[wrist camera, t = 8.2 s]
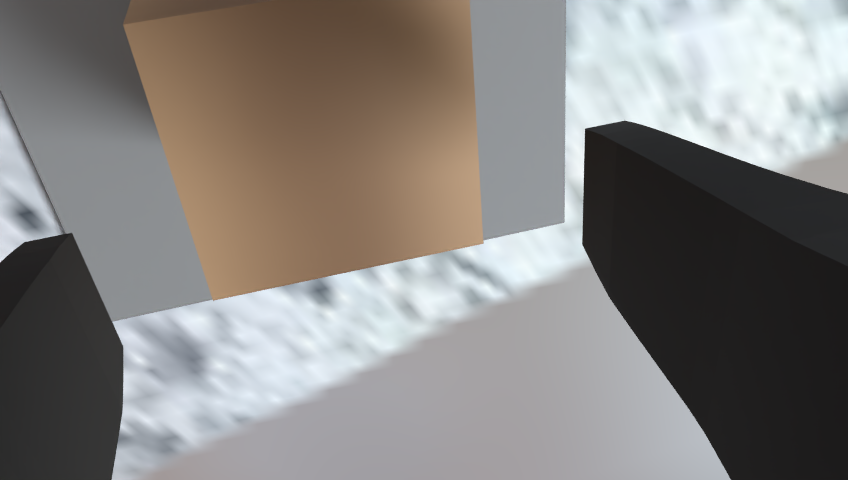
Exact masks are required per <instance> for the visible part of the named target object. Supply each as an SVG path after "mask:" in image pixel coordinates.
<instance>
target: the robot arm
mask: <svg viewBox="0 0 848 480" xmlns="http://www.w3.org/2000/svg"><path fill="white" fill-rule="evenodd" d="M582 244H583V247H584V249H585V251H586V253H587V255H588V257H589V259H590V261H591V263H592V265H593V267H594V269H595V271H596V273H597V275H598V277H599V279H600V281H601V282H602V284H603V286H604V288H605V290H606V292H607V294H608V296H609V297H610V299H611V300H612V302H613V303H614V305H615V306H616V307H617V309H618V311H619V312H620V313H621V315H622V316H623V318H624V319H625V320H626V322H627V323H628V325H629V326H630V327H631V329H632V330H633V332H634V333H635V334H636V336H637V337H638V339H639V340H640V342H641V343H642V344H643V346H644V347H645V348H646V350H647V351H648V353H649V354H650V355H651V357H652V358H653V360H654V361H655V362H656V364H657V365H658V367H659V368H660V369H661V371H662V372H663V373H664V375H665V376H666V378H667V379H668V380H669V382H670V383H671V385H672V386H673V387H674V389H675V390H676V391H677V393H678V394H679V396H680V397H681V398H682V400H683V401H684V403H685V404H686V405H687V407H688V408H689V410H690V411H691V413H692V414H693V416H694V417H695V419H696V421H697V422H698V424H699V425H700V427H701V428H702V429H703V431H704V433H705V434H706V436H707V438H708V440H709V441H710V443H711V445H712V447H713V448H714V450H715V452H716V454H717V456H718V457H719V459H720V461H721V463H722V464H723V466H724V468H725V470H726V471H727V473H728V475H729V477H730V479H731V480H848V194H846V193H842V192H839V191H835V190H831V189H828V188H825V187H821V186H818V185H815V184H812V183H808V182H805V181H802V180H799V179H795V178H792V177H789V176H785V175H782V174H779V173H776V172H773V171H770V170H768V169H765V168H762V167H759V166H756V165H753V164H750V163H747V162H744V161H741V160H739V159H736V158H733V157H730V156H728V155H725V154H722V153H719V152H717V151H714V150H711V149H709V148H706V147H703V146H700V145H698V144H695V143H692V142H690V141H687V140H684V139H681V138H679V137H676V136H673V135H670V134H668V133H665V132H662V131H659V130H656V129H653V128H650V127H647V126H644V125H640V124H637V123H632V122H628V121H621V122H616V123H611V124H606V125H601V126H597V127H592V128H587V129H585V158H584V199H583V240H582ZM122 408H123V345H122V343H121V341H120V339H119V336H118V334H117V332H116V330H115V327H114V325H113V323H112V321H111V318H110V316H109V314H108V312H107V310H106V307H105V305H104V303H103V301H102V298H101V296H100V294H99V292H98V290H97V287H96V285H95V283H94V281H93V278H92V276H91V274H90V272H89V269H88V267H87V265H86V263H85V261H84V258H83V256H82V254H81V252H80V249H79V247H78V245H77V243H76V241H75V238H74V236H73V234H72V233H68V234H63V235H58V236H53V237H48V238H43V239H38V240H33V241H29V242H24V243H23V244H22V245H20V246H19V247H18V248H16V249H15V250H14V251H13V252H12V253H10V254H9V255H8V256H7V257H6V258H5V259H4V260H3V261H1V262H0V480H111V479H112V473H113V467H114V461H115V455H116V449H117V442H118V436H119V430H120V423H121V417H122Z"/></svg>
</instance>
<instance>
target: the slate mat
mask: <svg viewBox="0 0 848 480" xmlns="http://www.w3.org/2000/svg"><path fill="white" fill-rule="evenodd" d="M130 1H131V0H0V91H1V93H2V95H3V97H4V99H5V102H6V104H7V106H8V108H9V110H10V113H11V115H12V117H13V119H14V121H15V123H16V126H17V128H18V130H19V132H20V134H21V137H22V139H23V141H24V143H25V145H26V148H27V150H28V152H29V154H30V156H31V159H32V161H33V163H34V165H35V167H36V170H37V172H38V174H39V176H40V178H41V181H42V183H43V185H44V187H45V189H46V192H47V194H48V196H49V198H50V200H51V203H52V205H53V207H54V209H55V211H56V214H57V216H58V218H59V220H60V222H61V225H62V227H63V229H64V231H65V233H66V234H68V233H72V234H73V236H74V238H75V241H76V243H77V245H78V247H79V249H80V252H81V254H82V256H83V258H84V261H85V263H86V265H87V267H88V269H89V272H90V274H91V276H92V278H93V281H94V283H95V285H96V287H97V290H98V292H99V294H100V296H101V298H102V301H103V303H104V305H105V307H106V310H107V312H108V314H109V316H110V318H111V321H117V320H122V319H126V318H131V317H135V316H140V315H144V314H149V313H154V312H158V311H163V310H167V309H172V308H176V307H181V306H185V305H190V304H195V303H199V302H204V301H208V300H213V299H212V296H211V293H210V290H209V287H208V284H207V281H206V278H205V275H204V272H203V269H202V266H201V262H200V259H199V256H198V253H197V250H196V247H195V244H194V241H193V238H192V235H191V232H190V229H189V226H188V223H187V219H186V216H185V213H184V210H183V207H182V204H181V201H180V198H179V195H178V192H177V189H176V186H175V183H174V180H173V176H172V173H171V170H170V167H169V164H168V161H167V158H166V155H165V152H164V149H163V146H162V143H161V140H160V137H159V133H158V130H157V127H156V124H155V121H154V118H153V115H152V112H151V109H150V106H149V103H148V100H147V97H146V94H145V90H144V87H143V84H142V81H141V78H140V75H139V72H138V69H137V66H136V63H135V60H134V57H133V54H132V51H131V47H130V44H129V41H128V38H127V35H126V32H125V29H124V26H123V23H124V20H125V17H126V14H127V11H128V7H129V4H130ZM470 16H471V33H472V51H473V69H474V86H475V104H476V122H477V139H478V157H479V175H480V192H481V210H482V228H483V240H487V239H491V238H496V237H500V236H505V235H510V234H514V233H519V232H523V231H528V230H532V229H537V228H542V227H546V226H551V225H555V224H560V223H564V207H565V63H566V0H470Z"/></svg>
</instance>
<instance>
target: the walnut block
mask: <svg viewBox="0 0 848 480" xmlns="http://www.w3.org/2000/svg"><path fill="white" fill-rule="evenodd" d="M123 26H124V29H125V32H126V35H127V38H128V41H129V44H130V47H131V51H132V54H133V57H134V60H135V63H136V66H137V69H138V72H139V75H140V78H141V81H142V84H143V87H144V90H145V94H146V97H147V100H148V103H149V106H150V109H151V112H152V115H153V118H154V121H155V124H156V127H157V130H158V133H159V137H160V140H161V143H162V146H163V149H164V152H165V155H166V158H167V161H168V164H169V167H170V170H171V173H172V176H173V180H174V183H175V186H176V189H177V192H178V195H179V198H180V201H181V204H182V207H183V210H184V213H185V216H186V219H187V223H188V226H189V229H190V232H191V235H192V238H193V241H194V244H195V247H196V250H197V253H198V256H199V259H200V262H201V266H202V269H203V272H204V275H205V278H206V281H207V284H208V287H209V290H210V293H211V296H212V299H213V300H218V299H223V298H228V297H232V296H237V295H242V294H246V293H251V292H256V291H261V290H265V289H270V288H275V287H280V286H284V285H289V284H294V283H299V282H303V281H308V280H313V279H318V278H322V277H327V276H332V275H337V274H341V273H346V272H351V271H355V270H360V269H365V268H370V267H374V266H379V265H384V264H389V263H393V262H398V261H403V260H408V259H412V258H417V257H422V256H427V255H431V254H436V253H441V252H445V251H450V250H455V249H460V248H464V247H469V246H474V245H479V244H483V228H482V210H481V192H480V175H479V157H478V139H477V122H476V104H475V86H474V69H473V51H472V33H471V16H470V0H131V1H130V4H129V7H128V11H127V14H126V17H125V20H124V23H123Z"/></svg>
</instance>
